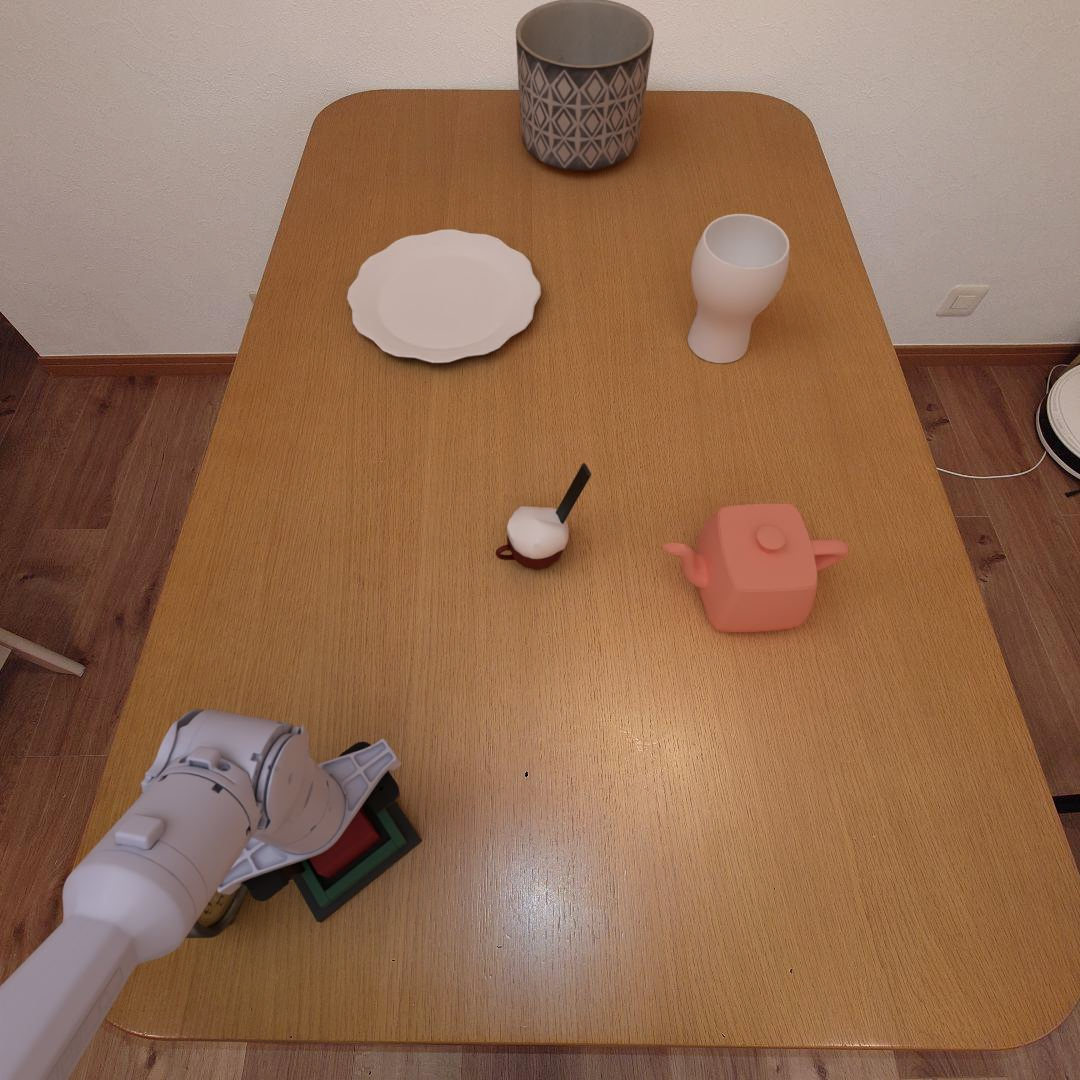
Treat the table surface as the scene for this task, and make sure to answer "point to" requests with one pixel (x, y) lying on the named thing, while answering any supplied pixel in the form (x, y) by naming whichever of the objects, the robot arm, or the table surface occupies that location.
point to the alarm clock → (218, 914)
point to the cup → (734, 282)
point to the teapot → (757, 567)
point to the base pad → (359, 864)
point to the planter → (582, 82)
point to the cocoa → (542, 529)
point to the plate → (444, 296)
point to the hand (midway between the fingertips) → (337, 831)
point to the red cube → (347, 846)
